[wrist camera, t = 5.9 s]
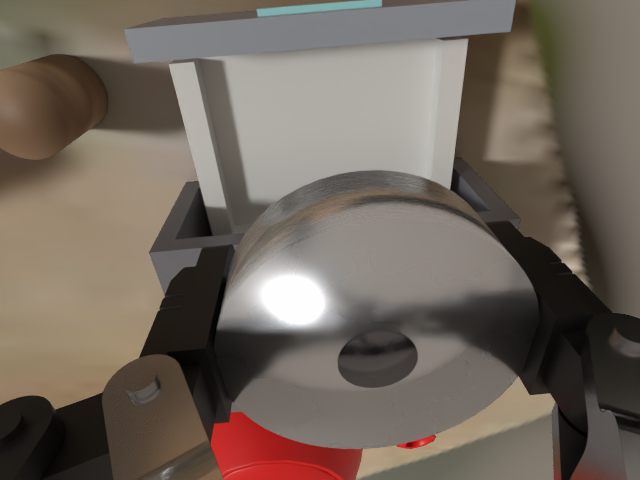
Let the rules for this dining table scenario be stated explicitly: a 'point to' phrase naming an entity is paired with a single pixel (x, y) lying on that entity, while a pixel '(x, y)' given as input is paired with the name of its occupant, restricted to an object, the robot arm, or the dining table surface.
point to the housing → (195, 232)
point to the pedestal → (48, 105)
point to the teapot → (281, 454)
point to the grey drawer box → (316, 93)
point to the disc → (371, 313)
